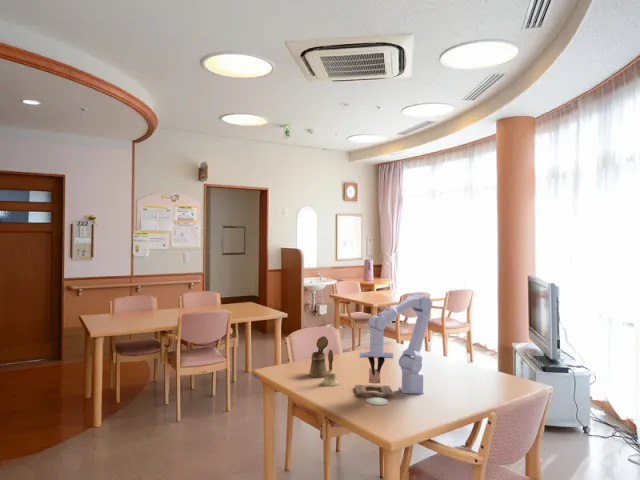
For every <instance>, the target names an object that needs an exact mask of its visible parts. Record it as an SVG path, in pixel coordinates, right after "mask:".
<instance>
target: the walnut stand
mask: <svg viewBox="0 0 640 480" xmlns="http://www.w3.org/2000/svg"><path fill="white" fill-rule="evenodd" d="M354 391H355V394H356V398H371V397H379V398H384V399H385V398H387V399H394V398H395V394H394V392H393V390H392V388H391V387H390V385H379V384H378V385H375V384H374V385H372V384H369V385H368V384H354ZM375 391H376V392H375ZM378 391H380V392H378Z"/></svg>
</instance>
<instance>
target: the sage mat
mask: <svg viewBox="0 0 640 480" xmlns="http://www.w3.org/2000/svg"><path fill="white" fill-rule="evenodd" d="M367 402H368V404H369V405H372V404H373V405H372V406H385V405H384V404H386V405H388V403H389V401H388V400H387V399H385V398H379V397H367V398H366V403H367Z"/></svg>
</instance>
